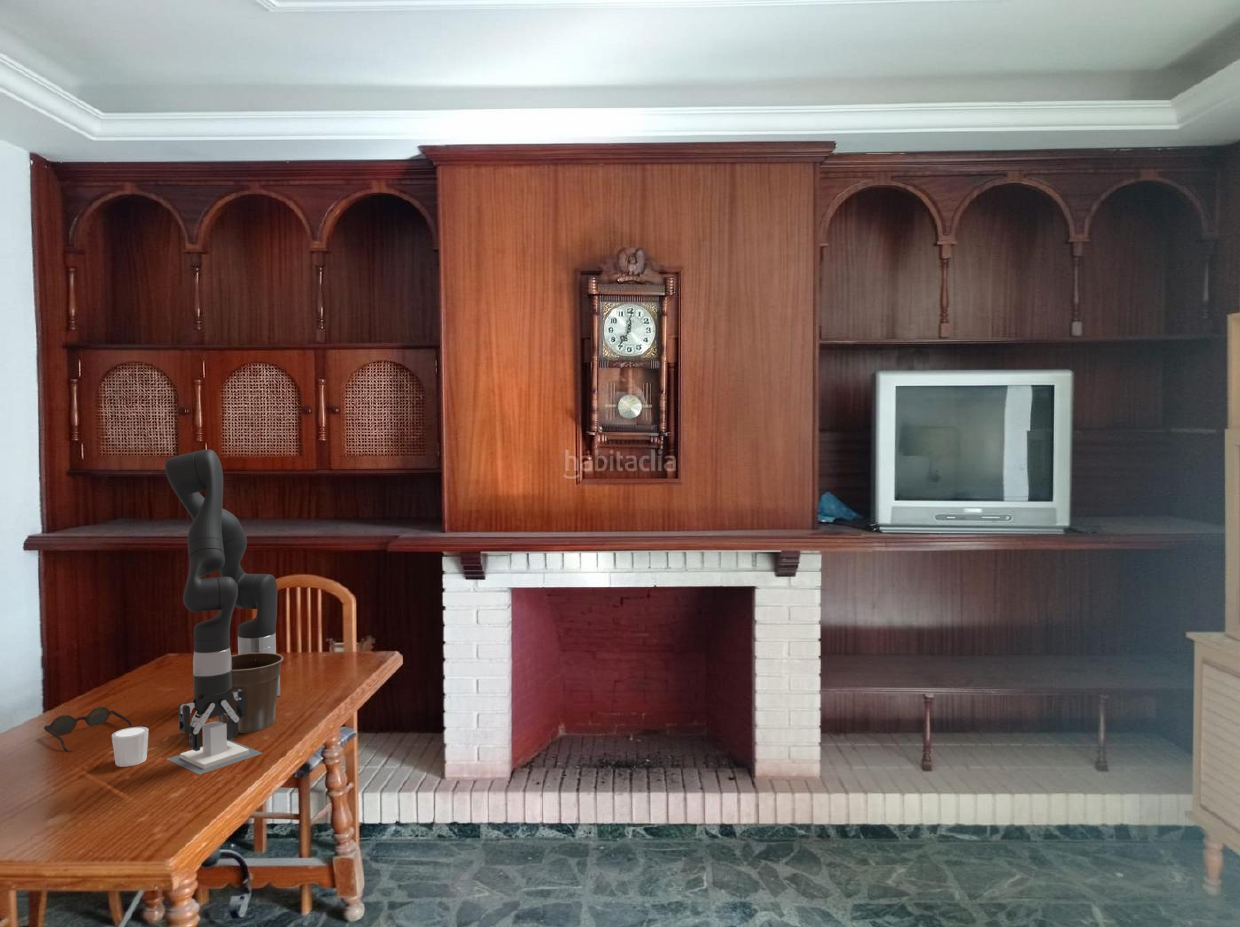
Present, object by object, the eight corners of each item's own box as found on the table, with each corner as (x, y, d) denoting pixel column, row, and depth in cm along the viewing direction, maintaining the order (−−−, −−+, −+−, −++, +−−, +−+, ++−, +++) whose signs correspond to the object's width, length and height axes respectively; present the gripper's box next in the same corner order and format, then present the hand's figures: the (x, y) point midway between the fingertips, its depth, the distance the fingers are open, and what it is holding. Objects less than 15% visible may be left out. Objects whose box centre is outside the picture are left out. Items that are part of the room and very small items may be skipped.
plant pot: (253, 711, 212) (251, 648, 211) (299, 720, 205) (297, 656, 204) (195, 732, 197) (193, 665, 197) (243, 743, 190) (241, 673, 190)
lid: (225, 743, 188) (224, 713, 188) (249, 753, 182) (248, 722, 182) (180, 758, 180) (179, 726, 180) (204, 769, 174) (203, 736, 174)
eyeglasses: (113, 722, 206) (112, 702, 205) (138, 736, 196) (137, 715, 196) (44, 739, 194) (43, 718, 194) (66, 755, 185) (66, 733, 185)
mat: (229, 741, 191) (229, 739, 191) (263, 755, 183) (263, 753, 183) (166, 761, 180) (166, 758, 180) (199, 777, 172) (199, 774, 172)
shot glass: (132, 771, 175) (131, 738, 175) (104, 769, 176) (103, 736, 176) (157, 758, 182) (156, 727, 181) (129, 756, 183) (128, 725, 183)
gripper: (235, 659, 189) (236, 731, 189) (170, 674, 177) (172, 750, 178) (253, 664, 184) (254, 738, 185) (187, 680, 173) (189, 758, 173)
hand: (214, 744), depth 181 cm, fingers open, 7 cm apart
